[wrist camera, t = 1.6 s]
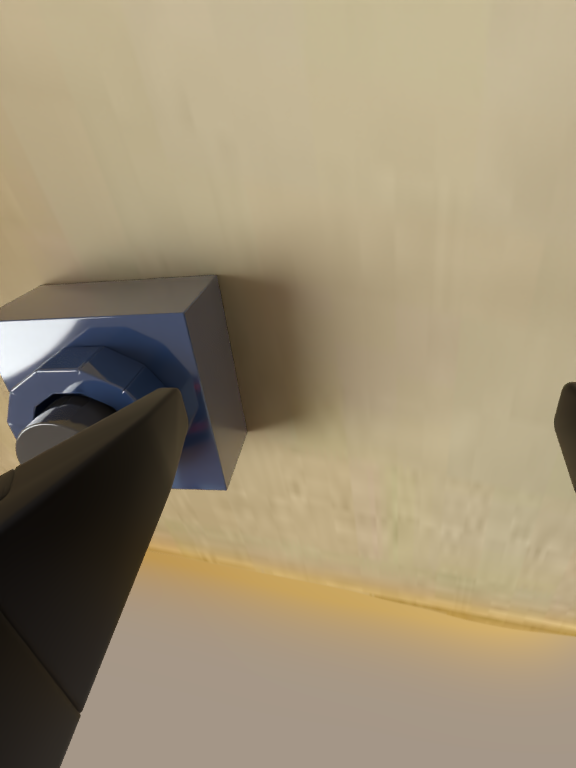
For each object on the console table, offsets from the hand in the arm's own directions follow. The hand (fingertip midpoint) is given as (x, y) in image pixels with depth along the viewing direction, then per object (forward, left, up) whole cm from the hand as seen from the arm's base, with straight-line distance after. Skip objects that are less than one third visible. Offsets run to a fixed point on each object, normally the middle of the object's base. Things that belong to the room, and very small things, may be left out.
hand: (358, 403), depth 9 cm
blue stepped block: (-6, +12, -13) cm, 19 cm away
